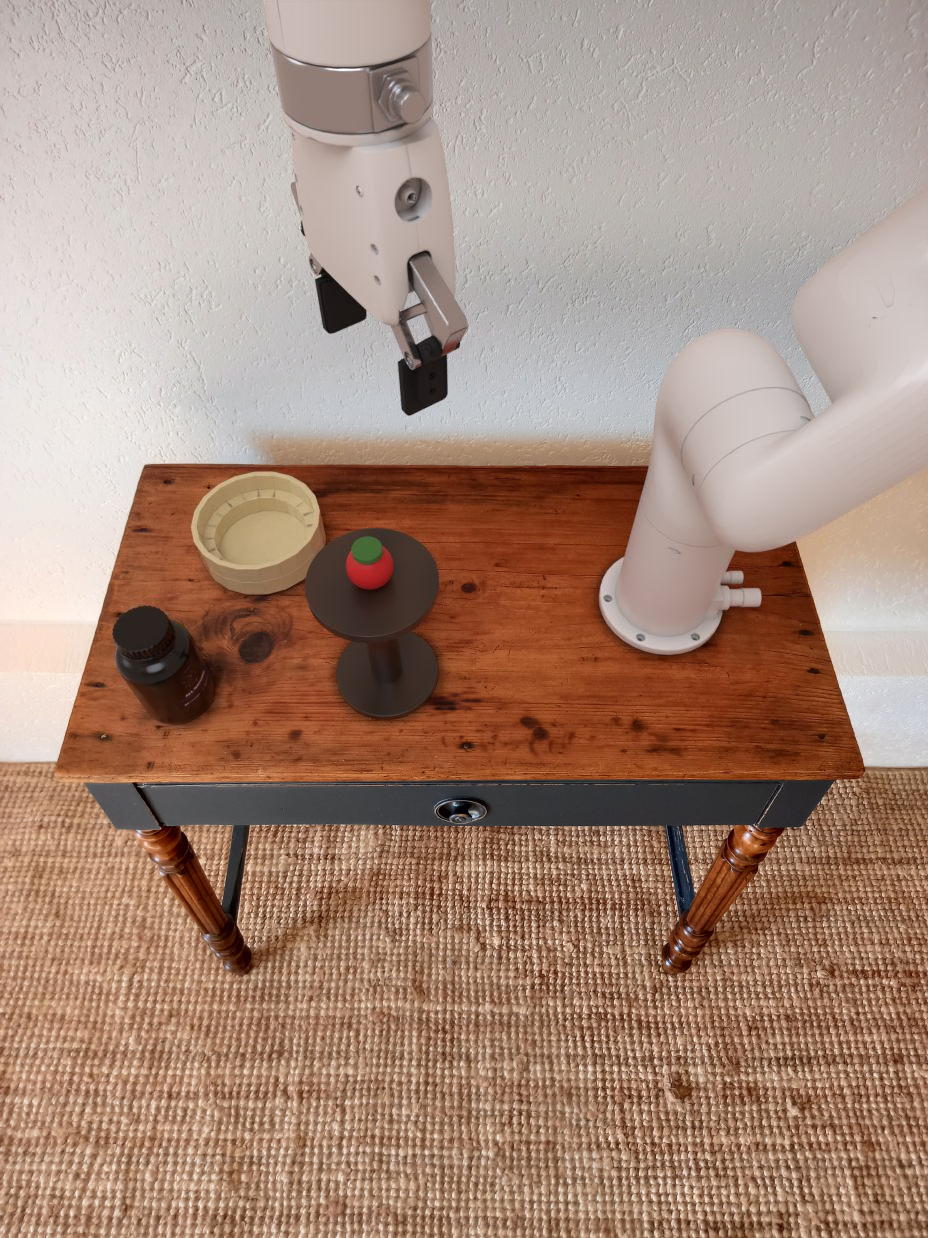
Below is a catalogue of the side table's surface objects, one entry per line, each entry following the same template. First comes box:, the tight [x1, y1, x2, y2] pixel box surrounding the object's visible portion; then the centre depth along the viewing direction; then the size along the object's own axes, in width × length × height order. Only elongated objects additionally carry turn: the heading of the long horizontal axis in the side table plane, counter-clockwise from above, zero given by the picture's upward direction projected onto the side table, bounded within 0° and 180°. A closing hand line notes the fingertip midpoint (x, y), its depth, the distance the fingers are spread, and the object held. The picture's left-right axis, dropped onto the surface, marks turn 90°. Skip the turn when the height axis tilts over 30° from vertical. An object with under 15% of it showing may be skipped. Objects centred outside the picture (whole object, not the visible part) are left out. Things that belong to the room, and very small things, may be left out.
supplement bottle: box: [111, 605, 216, 725], centre depth 73 cm, size 7×7×12 cm
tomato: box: [346, 536, 393, 590], centre depth 64 cm, size 4×4×4 cm
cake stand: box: [304, 527, 440, 721], centre depth 72 cm, size 11×11×16 cm
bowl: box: [190, 471, 327, 595], centre depth 86 cm, size 13×13×5 cm
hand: (383, 363), depth 53 cm, fingers open, 9 cm apart
